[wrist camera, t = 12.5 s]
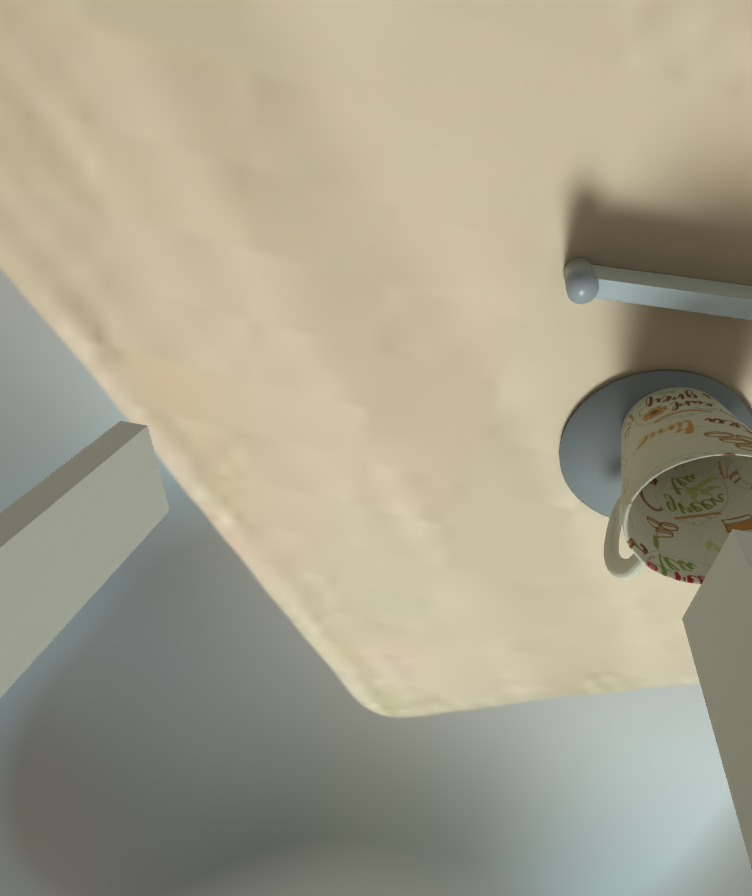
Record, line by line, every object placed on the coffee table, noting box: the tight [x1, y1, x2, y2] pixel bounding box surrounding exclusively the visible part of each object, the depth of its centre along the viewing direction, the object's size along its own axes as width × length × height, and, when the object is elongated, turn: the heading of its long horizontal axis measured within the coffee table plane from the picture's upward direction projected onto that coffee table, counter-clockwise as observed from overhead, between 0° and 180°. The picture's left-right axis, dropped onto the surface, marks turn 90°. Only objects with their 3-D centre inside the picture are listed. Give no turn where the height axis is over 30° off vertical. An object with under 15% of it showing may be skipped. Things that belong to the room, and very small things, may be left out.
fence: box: [564, 258, 752, 320], centre depth 28 cm, size 2×18×4 cm, turn 85°
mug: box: [604, 387, 752, 584], centre depth 31 cm, size 8×13×10 cm, turn 163°
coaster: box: [559, 370, 752, 518], centre depth 35 cm, size 12×12×1 cm
